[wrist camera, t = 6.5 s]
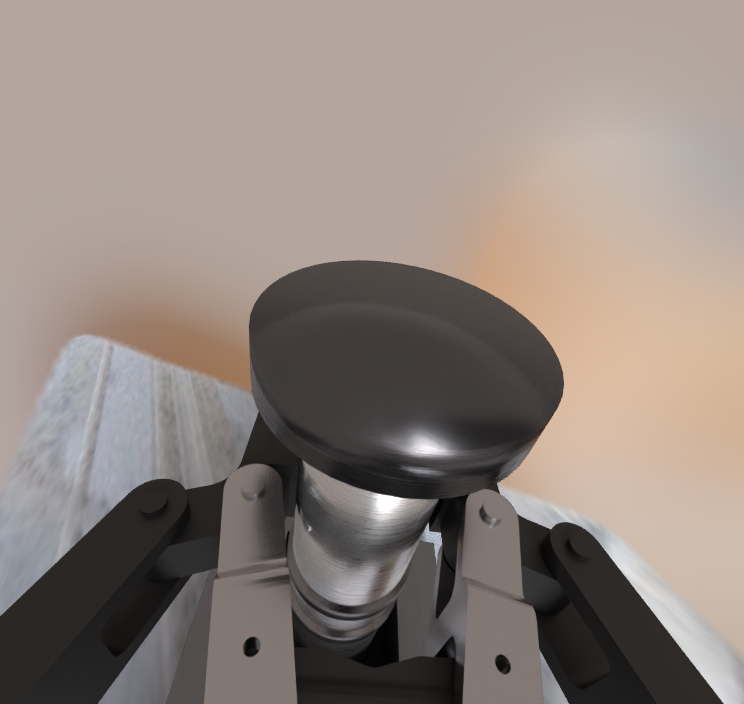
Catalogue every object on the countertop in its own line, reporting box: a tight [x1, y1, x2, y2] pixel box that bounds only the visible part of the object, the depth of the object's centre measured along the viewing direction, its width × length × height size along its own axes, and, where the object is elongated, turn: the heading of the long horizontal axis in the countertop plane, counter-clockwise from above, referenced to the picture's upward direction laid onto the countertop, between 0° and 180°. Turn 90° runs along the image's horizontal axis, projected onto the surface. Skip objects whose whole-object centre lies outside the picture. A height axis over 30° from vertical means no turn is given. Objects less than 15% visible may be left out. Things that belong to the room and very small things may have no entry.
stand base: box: [166, 510, 437, 704], centre depth 18 cm, size 14×14×10 cm
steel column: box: [249, 260, 564, 665], centre depth 14 cm, size 6×6×21 cm
